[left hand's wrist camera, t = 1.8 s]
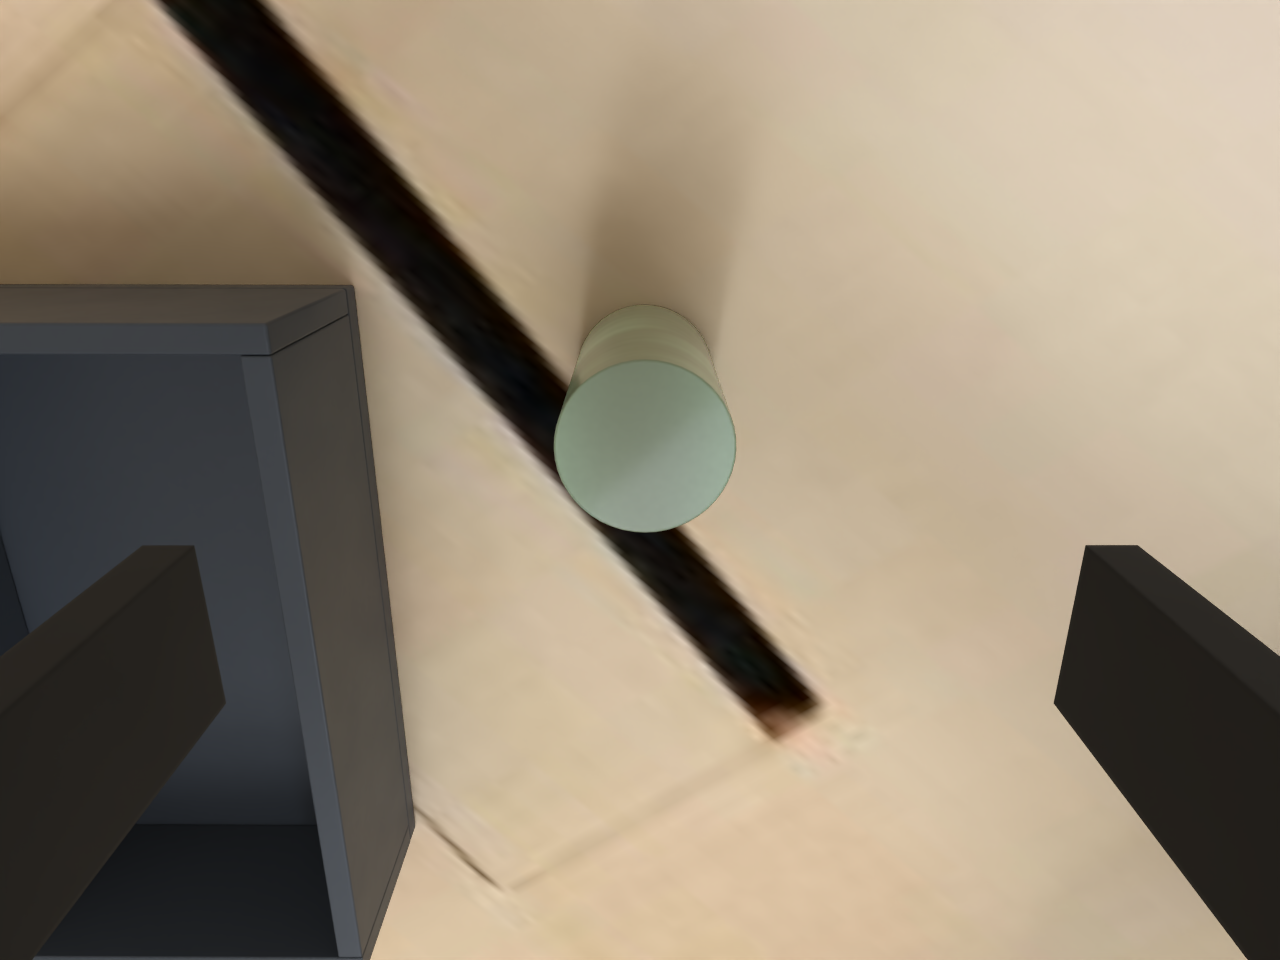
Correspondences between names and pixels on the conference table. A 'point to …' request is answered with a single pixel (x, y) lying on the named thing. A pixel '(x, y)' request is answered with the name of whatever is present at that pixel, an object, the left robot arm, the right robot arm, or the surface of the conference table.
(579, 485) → the peg
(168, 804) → the bin
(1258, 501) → the conference table surface
